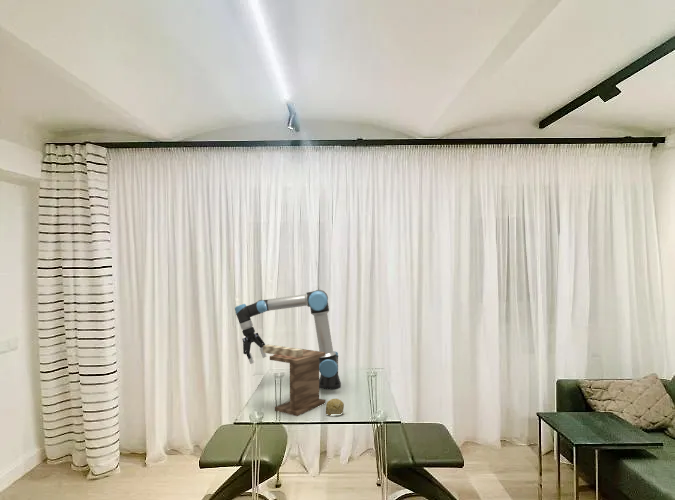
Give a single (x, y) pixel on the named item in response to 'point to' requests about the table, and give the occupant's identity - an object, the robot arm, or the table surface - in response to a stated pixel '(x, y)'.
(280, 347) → the bar
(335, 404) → the rock
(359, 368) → the table surface
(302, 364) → the stand
